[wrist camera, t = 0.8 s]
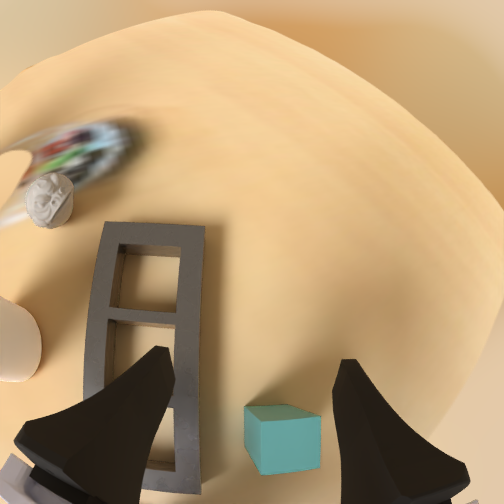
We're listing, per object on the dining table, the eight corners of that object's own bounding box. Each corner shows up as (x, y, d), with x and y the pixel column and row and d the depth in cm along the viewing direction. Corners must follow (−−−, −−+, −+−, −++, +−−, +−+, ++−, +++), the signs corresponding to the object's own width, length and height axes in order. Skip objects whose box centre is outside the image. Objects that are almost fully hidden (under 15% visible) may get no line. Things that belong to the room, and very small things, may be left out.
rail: (201, 484, 19) (201, 494, 16) (98, 469, 17) (89, 477, 15) (204, 238, 28) (205, 226, 26) (111, 233, 27) (105, 221, 25)
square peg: (287, 443, 21) (319, 467, 14) (244, 446, 21) (261, 475, 14) (287, 404, 23) (320, 416, 16) (244, 406, 22) (261, 421, 15)
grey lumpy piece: (69, 251, 25) (40, 218, 19) (31, 229, 25) (3, 196, 19) (97, 205, 28) (77, 166, 22) (58, 188, 28) (36, 151, 22)
